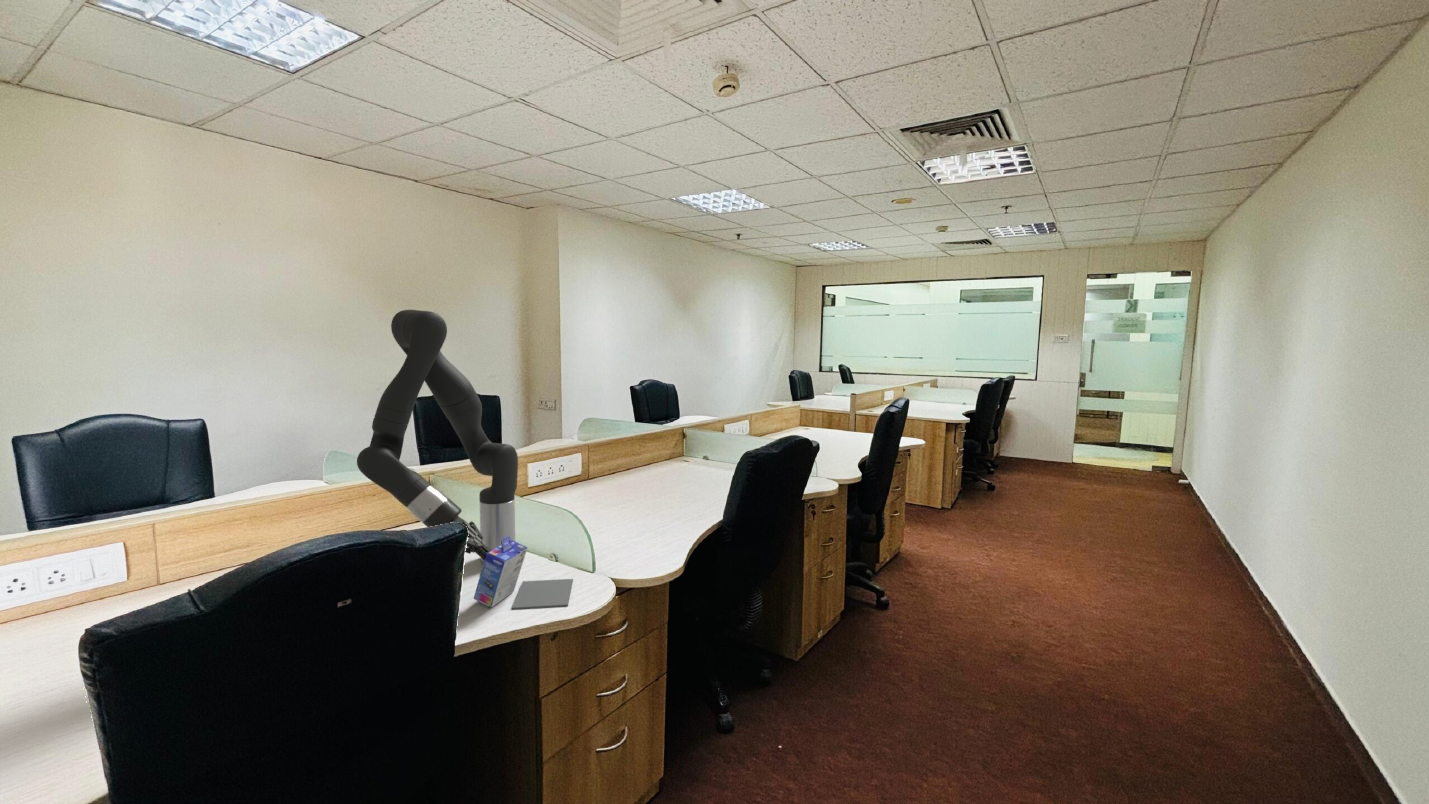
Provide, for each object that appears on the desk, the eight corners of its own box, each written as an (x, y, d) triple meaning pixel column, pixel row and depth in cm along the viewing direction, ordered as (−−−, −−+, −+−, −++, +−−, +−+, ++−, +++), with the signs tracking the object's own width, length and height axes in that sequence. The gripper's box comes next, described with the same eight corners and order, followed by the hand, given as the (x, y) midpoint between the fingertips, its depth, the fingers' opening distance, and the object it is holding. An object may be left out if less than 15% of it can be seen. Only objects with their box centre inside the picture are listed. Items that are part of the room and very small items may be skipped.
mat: (522, 582, 143) (522, 581, 143) (573, 580, 145) (573, 578, 145) (511, 609, 129) (511, 607, 129) (567, 606, 131) (567, 604, 131)
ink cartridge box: (495, 581, 139) (513, 529, 137) (514, 591, 138) (532, 539, 136) (470, 598, 130) (489, 543, 127) (491, 608, 129) (509, 553, 127)
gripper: (437, 505, 124) (496, 556, 127) (454, 490, 137) (508, 537, 140) (412, 529, 123) (472, 580, 126) (432, 512, 136) (486, 559, 139)
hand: (491, 558), depth 133 cm, fingers closed
